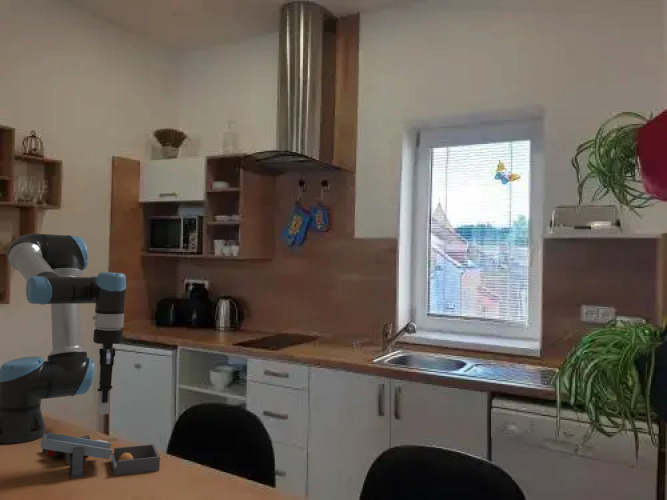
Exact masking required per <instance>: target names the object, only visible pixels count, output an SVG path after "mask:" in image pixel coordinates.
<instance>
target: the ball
mask: <svg viewBox="0 0 667 500" xmlns="http://www.w3.org/2000/svg"><path fill="white" fill-rule="evenodd" d="M130 459H133V456H132V455H131V454H130V453H124V454H122V455H121V456H120V458H119V461H120V460H130Z"/></svg>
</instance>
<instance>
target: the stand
mask: <svg viewBox="0 0 667 500" xmlns="http://www.w3.org/2000/svg"><path fill="white" fill-rule="evenodd" d="M83 451H84V447H83V448H73V453H72V464H70V465H69V472H70V473H69V476H70V477H69V478H70V479H77V478H84V464H83V463H84V459H83Z"/></svg>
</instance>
